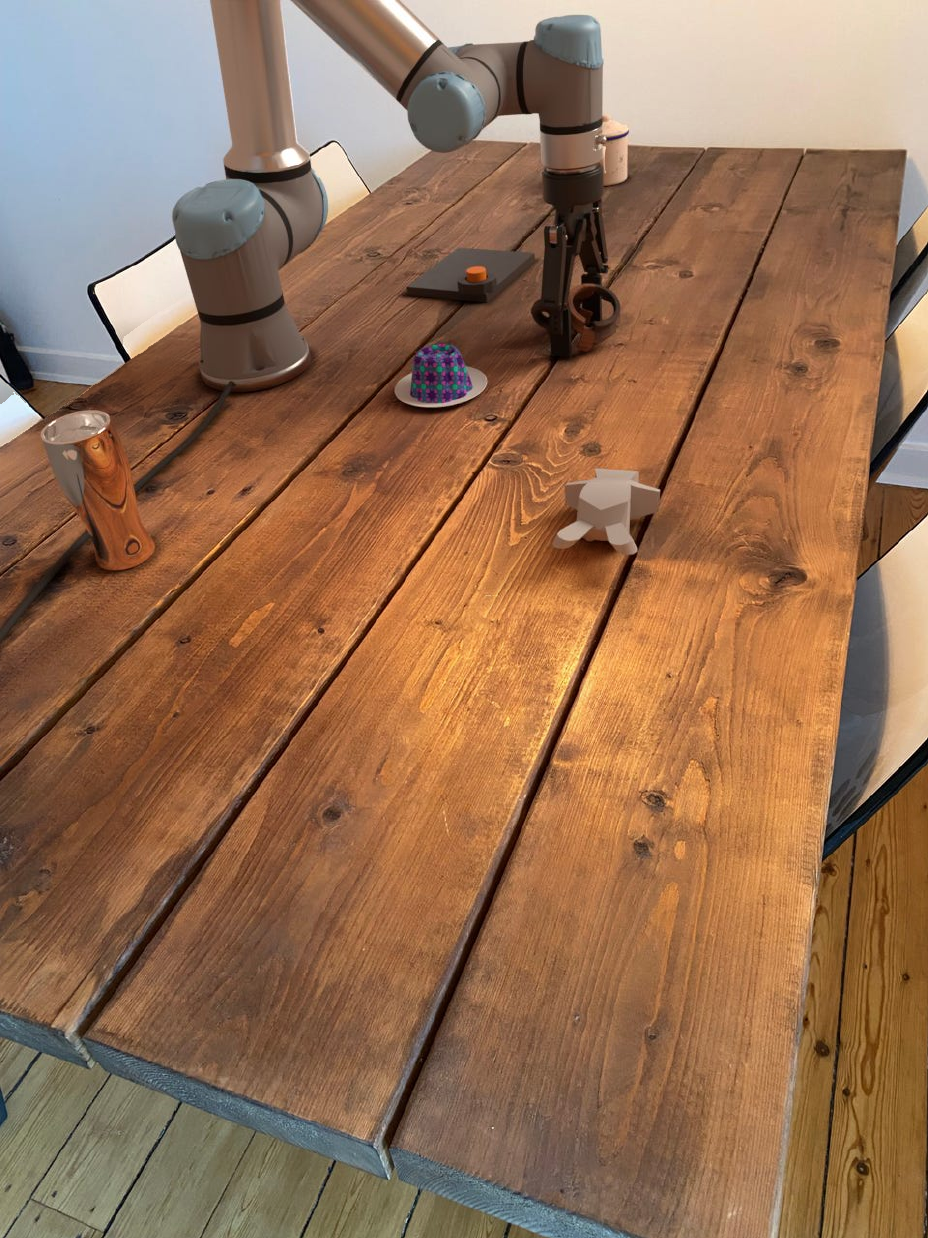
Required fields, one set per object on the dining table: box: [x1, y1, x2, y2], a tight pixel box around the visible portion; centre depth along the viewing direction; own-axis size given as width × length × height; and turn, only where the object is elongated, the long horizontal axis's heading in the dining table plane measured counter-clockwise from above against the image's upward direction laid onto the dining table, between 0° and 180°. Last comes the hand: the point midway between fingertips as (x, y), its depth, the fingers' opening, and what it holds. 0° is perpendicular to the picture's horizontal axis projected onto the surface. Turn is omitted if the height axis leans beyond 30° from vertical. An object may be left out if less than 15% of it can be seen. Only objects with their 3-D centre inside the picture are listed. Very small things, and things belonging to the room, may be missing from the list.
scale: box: [406, 247, 536, 304], centre depth 151 cm, size 19×14×3 cm
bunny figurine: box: [551, 468, 661, 556], centre depth 93 cm, size 10×5×15 cm
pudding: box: [394, 343, 488, 408], centre depth 120 cm, size 12×12×5 cm
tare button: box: [466, 266, 487, 282], centre depth 143 cm, size 3×3×2 cm
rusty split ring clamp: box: [530, 283, 621, 353], centre depth 128 cm, size 12×10×8 cm
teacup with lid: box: [599, 113, 630, 187], centre depth 181 cm, size 12×9×12 cm
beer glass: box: [39, 409, 156, 572], centre depth 95 cm, size 7×7×15 cm
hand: (577, 337), depth 130 cm, fingers open, 11 cm apart
